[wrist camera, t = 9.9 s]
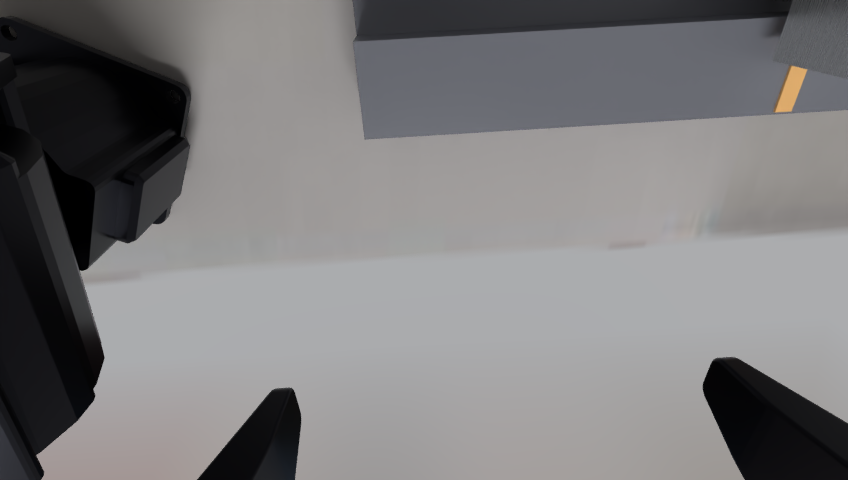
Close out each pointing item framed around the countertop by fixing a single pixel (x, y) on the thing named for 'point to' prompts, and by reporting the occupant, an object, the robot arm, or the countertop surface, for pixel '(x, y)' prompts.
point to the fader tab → (815, 37)
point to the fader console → (574, 64)
